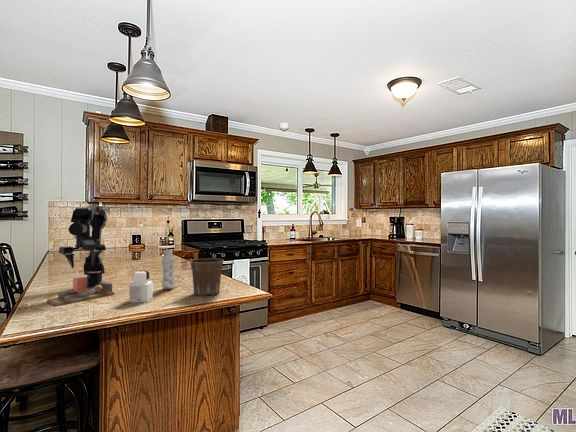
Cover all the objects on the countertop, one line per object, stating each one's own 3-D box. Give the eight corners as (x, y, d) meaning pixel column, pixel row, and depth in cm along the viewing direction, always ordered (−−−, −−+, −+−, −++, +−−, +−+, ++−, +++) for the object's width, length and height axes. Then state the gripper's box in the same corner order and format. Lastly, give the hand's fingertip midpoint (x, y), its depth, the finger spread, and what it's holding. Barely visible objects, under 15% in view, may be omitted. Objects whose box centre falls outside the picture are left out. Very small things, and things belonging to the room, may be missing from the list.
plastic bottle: (177, 288, 175) (177, 249, 174) (169, 291, 168) (169, 251, 168) (167, 287, 177) (167, 249, 176) (158, 290, 170) (158, 250, 170)
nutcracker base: (103, 291, 166) (103, 281, 166) (114, 294, 160) (114, 283, 160) (47, 302, 146) (47, 290, 146) (57, 306, 141) (57, 293, 141)
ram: (91, 292, 159) (91, 275, 158) (95, 293, 156) (95, 276, 156) (73, 295, 152) (73, 277, 152) (77, 296, 150) (77, 278, 150)
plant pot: (199, 288, 175) (199, 257, 174) (228, 290, 171) (228, 258, 171) (183, 296, 159) (183, 262, 158) (215, 298, 155) (215, 263, 155)
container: (135, 297, 155) (135, 269, 155) (152, 297, 156) (152, 269, 155) (129, 302, 147) (129, 272, 147) (147, 302, 148) (147, 272, 148)
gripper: (69, 236, 149) (69, 271, 149) (111, 233, 164) (111, 265, 164) (58, 234, 155) (58, 268, 155) (99, 232, 170) (99, 263, 170)
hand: (83, 266), depth 161 cm, fingers open, 9 cm apart
